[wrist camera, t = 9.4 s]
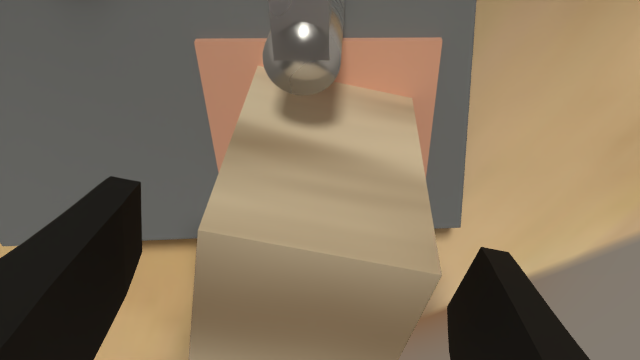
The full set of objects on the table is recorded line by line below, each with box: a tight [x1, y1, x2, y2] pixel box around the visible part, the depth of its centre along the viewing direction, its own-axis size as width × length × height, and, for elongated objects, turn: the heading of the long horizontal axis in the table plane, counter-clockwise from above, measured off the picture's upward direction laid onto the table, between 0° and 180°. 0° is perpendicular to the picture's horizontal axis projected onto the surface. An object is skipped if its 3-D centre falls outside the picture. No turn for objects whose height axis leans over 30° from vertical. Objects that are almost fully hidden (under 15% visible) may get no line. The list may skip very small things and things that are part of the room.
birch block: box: [189, 66, 442, 360], centre depth 12 cm, size 4×4×6 cm
